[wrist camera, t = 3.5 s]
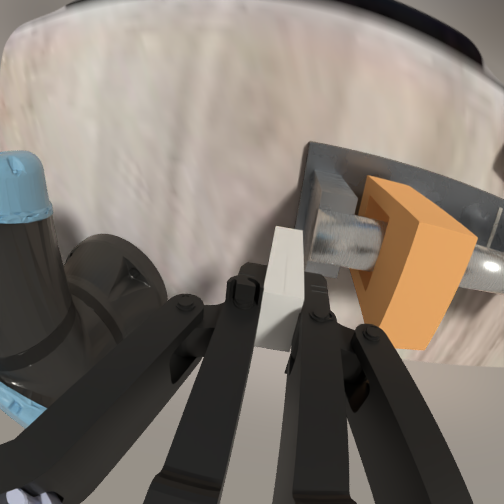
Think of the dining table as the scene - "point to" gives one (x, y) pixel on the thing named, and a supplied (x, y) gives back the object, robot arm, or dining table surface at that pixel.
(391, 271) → the collar
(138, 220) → the dining table surface
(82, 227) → the dining table surface
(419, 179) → the pipe rig
